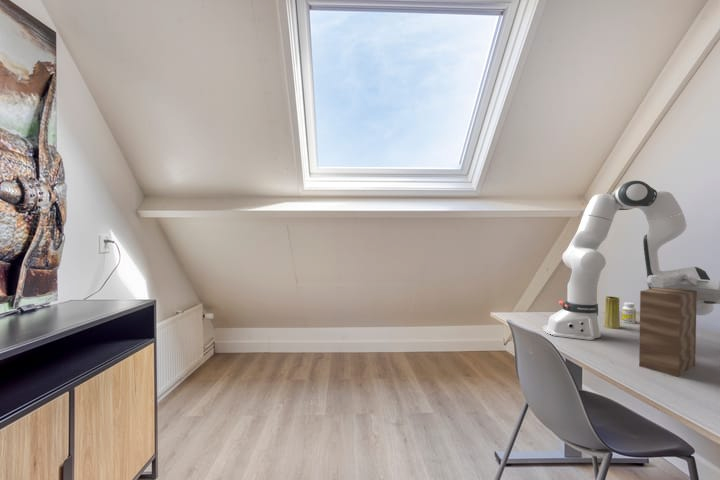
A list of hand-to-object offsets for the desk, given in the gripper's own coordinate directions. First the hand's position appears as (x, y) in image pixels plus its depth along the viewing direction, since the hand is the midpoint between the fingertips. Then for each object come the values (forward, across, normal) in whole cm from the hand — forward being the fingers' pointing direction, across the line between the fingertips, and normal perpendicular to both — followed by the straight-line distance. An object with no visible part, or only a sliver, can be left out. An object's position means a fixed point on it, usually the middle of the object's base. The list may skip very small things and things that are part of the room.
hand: (677, 276), depth 115 cm
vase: (-39, -30, +13) cm, 51 cm away
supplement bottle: (-53, -30, +5) cm, 61 cm away
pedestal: (-8, 0, +30) cm, 31 cm away
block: (+5, 0, +5) cm, 7 cm away
